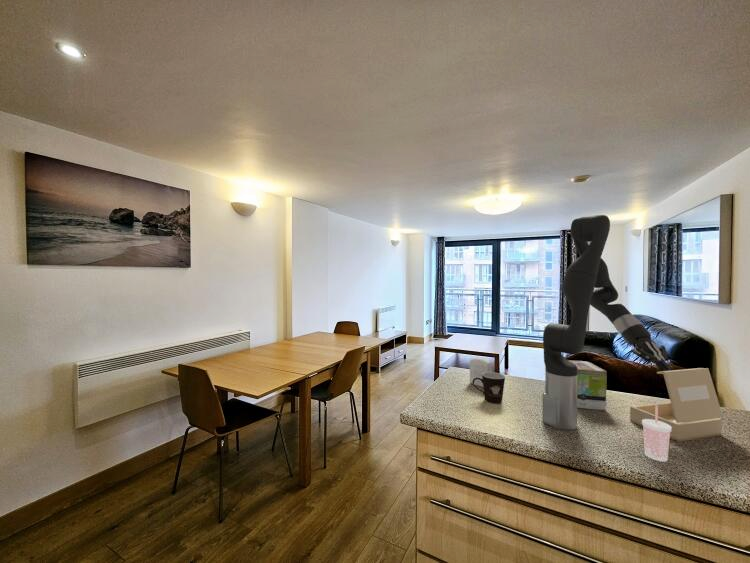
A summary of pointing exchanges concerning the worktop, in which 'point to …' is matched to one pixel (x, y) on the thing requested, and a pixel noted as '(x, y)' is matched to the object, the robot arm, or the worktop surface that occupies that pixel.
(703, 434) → the mailer box
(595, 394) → the tea box
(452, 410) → the worktop surface
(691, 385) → the lid
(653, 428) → the beverage cup
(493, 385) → the coffee mug
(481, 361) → the photo printer
